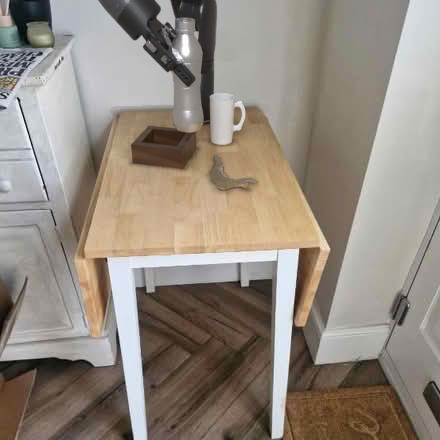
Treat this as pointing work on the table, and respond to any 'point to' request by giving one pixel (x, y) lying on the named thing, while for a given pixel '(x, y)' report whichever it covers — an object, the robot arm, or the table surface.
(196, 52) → the silver metal bottle
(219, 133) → the mug
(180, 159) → the bottle holder
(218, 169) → the jawbone
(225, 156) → the table surface
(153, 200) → the table surface
